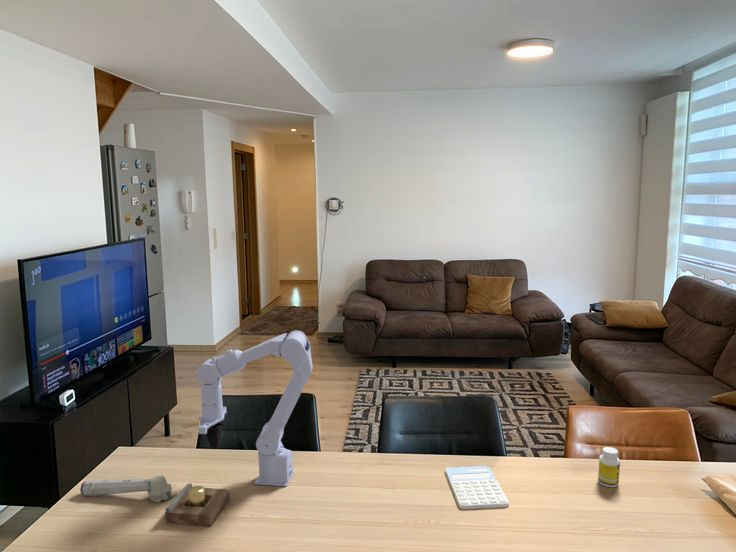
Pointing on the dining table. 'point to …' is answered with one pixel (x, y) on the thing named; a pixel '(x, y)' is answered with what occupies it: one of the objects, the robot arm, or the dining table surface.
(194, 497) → the tan cylinder
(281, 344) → the robot arm
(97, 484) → the grey long knobbed part
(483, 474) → the calculator
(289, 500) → the dining table surface
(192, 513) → the jig
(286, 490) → the dining table surface
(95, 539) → the dining table surface
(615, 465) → the supplement bottle
